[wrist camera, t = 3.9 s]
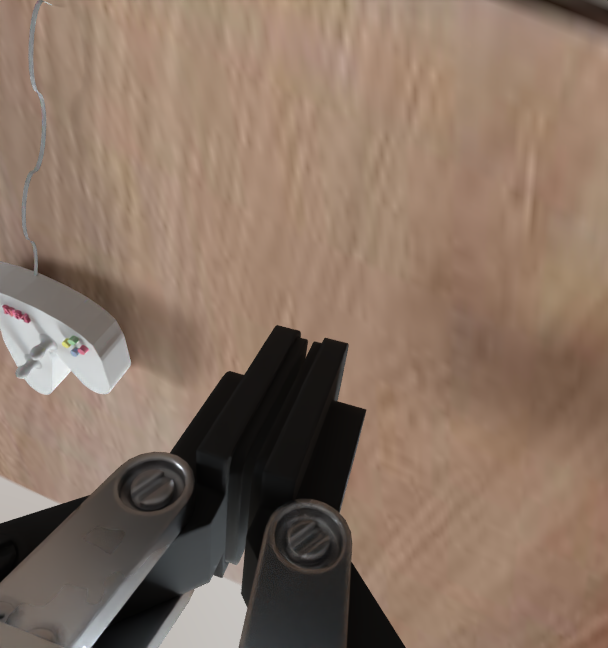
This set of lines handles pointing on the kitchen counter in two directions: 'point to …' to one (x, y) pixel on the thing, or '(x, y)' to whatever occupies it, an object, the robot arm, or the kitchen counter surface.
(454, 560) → the kitchen counter surface
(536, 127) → the kitchen counter surface
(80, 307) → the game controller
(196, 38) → the kitchen counter surface
